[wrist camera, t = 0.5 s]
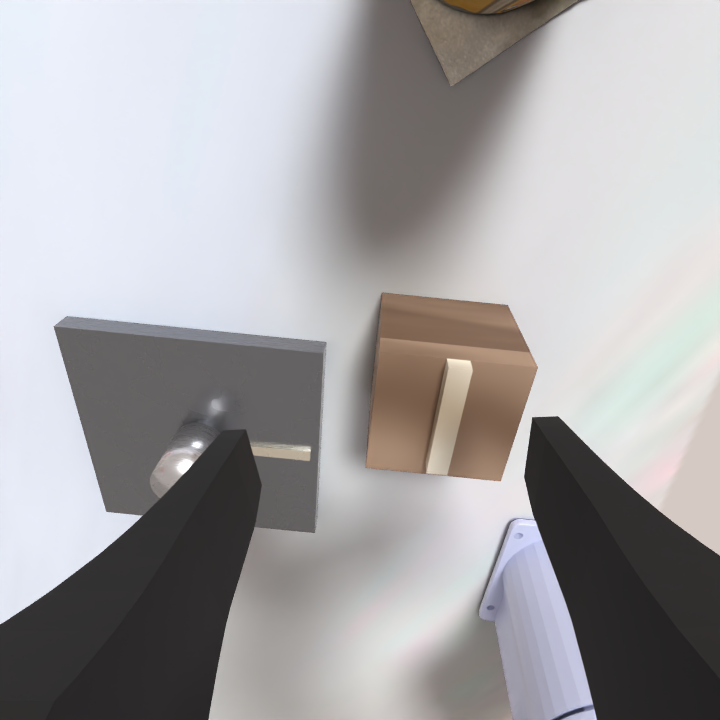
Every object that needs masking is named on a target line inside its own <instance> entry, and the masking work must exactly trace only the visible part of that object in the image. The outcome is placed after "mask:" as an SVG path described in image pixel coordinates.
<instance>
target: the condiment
mask: <svg viewBox="0 0 720 720" xmlns="http://www.w3.org/2000/svg"><path fill="white" fill-rule="evenodd" d="M410 1H411V3H412V5H413V8H414V10H415V12H416V14H417V16H418V18H419V20H420V22H421V24H422V26H423V28H424V31H425V33H426V35H427V37H428V39H429V40H430V43H431V45H432V47H433V49H434V51H435V54H436V56H437V58H438V60H439V62H440V64H441V66H442V68H443V71H444V73H445V75H446V77H447V79H448V81H449V83H450V85H451V87H452V86H453V85H455V84H456V83H458V82H459V81H461V80H462V79H464V78H465V77H467V76H468V75H469V74H471V73H472V72H474V71H475V70H477V69H478V68H480V67H481V66H483V65H484V64H486V63H487V62H488V61H490V60H491V59H493V58H494V57H496V56H497V55H499V54H500V53H501V52H503V51H504V50H506V49H507V48H509V47H510V46H512V45H513V44H515V43H516V42H518V41H519V40H521V39H522V38H523V37H525V36H526V35H528V34H529V33H531V32H532V31H534V30H535V29H537V28H538V27H540V26H541V25H543V24H544V23H546V22H547V21H549V20H550V19H551V18H553V17H554V16H556V15H557V14H559V13H560V12H562V11H563V10H565V9H566V8H568V7H569V6H571V5H572V4H574V3H576V2H577V1H578V0H410Z"/></svg>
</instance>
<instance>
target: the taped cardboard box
mask: <svg viewBox="0 0 720 720" xmlns="http://www.w3.org/2000/svg"><path fill="white" fill-rule="evenodd" d="M537 368H538V367H537V365H536V363H535V361H534V359H533V357H532V354H531V352H530V350H529V348H528V346H527V344H526V342H525V340H524V338H523V336H522V334H521V332H520V330H519V328H518V326H517V323H516V321H515V319H514V317H513V315H512V313H511V311H510V309H509V307H508V305H500V304H490V303H480V302H470V301H459V300H449V299H439V298H429V297H419V296H409V295H399V294H389V293H382V300H381V308H380V317H379V326H378V334H377V343H376V352H375V361H374V369H373V378H372V387H371V396H370V411H369V426H368V442H367V457H366V468H374V469H384V470H394V471H404V472H413V473H423V474H433V475H443V476H453V477H463V478H473V479H483V480H493V481H501V478H502V475H503V472H504V469H505V466H506V463H507V460H508V457H509V454H510V451H511V448H512V445H513V442H514V439H515V436H516V433H517V430H518V426H519V423H520V420H521V417H522V414H523V411H524V408H525V405H526V402H527V399H528V396H529V393H530V390H531V387H532V384H533V381H534V378H535V374H536V371H537Z"/></svg>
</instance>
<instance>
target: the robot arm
mask: <svg viewBox="0 0 720 720" xmlns="http://www.w3.org/2000/svg"><path fill="white" fill-rule="evenodd" d="M524 478H525V482H526V487H527V491H528V495H529V500H530V504H531V508H532V512H533V516H534V518H535V520H525V519H517V520H514V521H513V522H511V524H510V526H509V529H508V532H507V535H506V537H505V540H504V543H503V546H502V548H501V551H500V554H499V557H498V559H497V562H496V565H495V567H494V570H493V573H492V576H491V578H490V581H489V584H488V587H487V589H486V592H485V595H484V598H483V600H482V603H481V606H480V609H479V617H480V618H481V619H483V620H487V621H495V627H496V632H497V637H498V643H499V648H500V654H501V659H502V665H503V670H504V675H505V681H506V686H507V692H508V697H509V703H510V708H511V713H512V717H513V720H720V556H719V555H718V554H717V553H715V552H714V551H712V550H711V549H709V548H708V547H706V546H705V545H704V544H702V543H701V542H699V541H698V540H697V539H695V538H694V537H693V536H691V535H690V534H688V533H687V532H686V531H684V530H683V529H682V528H680V527H679V526H678V525H676V524H675V523H674V522H672V521H671V520H670V519H669V518H667V517H666V516H665V515H663V514H662V513H661V512H660V511H658V510H657V509H656V508H655V507H654V506H652V505H651V504H650V503H649V502H648V501H646V500H645V499H644V498H643V497H642V496H641V495H639V494H638V493H637V492H636V491H635V490H634V489H633V488H631V487H630V486H629V485H628V484H627V483H626V482H625V481H624V480H623V479H622V478H620V477H619V476H618V475H617V474H616V473H615V472H614V471H613V470H612V469H611V468H610V467H609V466H608V465H606V464H605V463H604V462H603V461H602V460H601V459H600V458H599V457H598V456H597V455H596V454H595V453H594V452H593V451H592V450H591V449H590V448H589V447H588V446H587V445H586V444H585V443H584V442H583V441H582V440H581V439H580V438H579V437H578V436H577V435H576V434H575V433H574V432H573V431H572V430H571V429H570V428H569V427H568V426H567V425H566V424H565V423H564V422H563V421H562V420H561V419H560V418H559V417H558V416H556V417H532V424H531V431H530V439H529V446H528V453H527V460H526V468H525V475H524ZM261 487H262V484H261V480H260V477H259V473H258V469H257V466H256V462H255V459H254V455H253V452H252V448H251V445H250V441H249V438H248V434H247V431H246V429H239V430H223V431H222V432H221V433H220V434H219V435H218V436H217V437H216V439H215V440H214V441H213V442H212V443H211V444H210V445H209V446H208V447H207V449H206V450H205V451H204V452H203V453H202V454H201V455H200V456H199V457H198V459H197V460H196V461H195V462H194V463H193V464H192V465H191V466H190V468H189V469H188V470H187V471H186V472H185V473H184V474H183V475H182V476H181V477H180V478H179V479H178V480H177V482H176V483H175V484H174V485H173V486H172V487H171V488H170V489H169V490H168V491H167V492H166V493H165V494H164V495H163V496H162V497H161V498H160V499H159V500H158V501H157V502H156V503H155V504H154V505H153V506H152V507H151V508H150V509H149V510H148V511H147V512H146V513H145V514H144V515H143V516H142V517H141V518H140V519H139V520H138V521H137V522H136V523H135V524H134V525H133V526H131V527H130V528H129V529H128V530H127V531H126V532H125V533H124V534H123V535H121V536H120V537H119V538H118V539H117V540H116V541H114V542H113V543H112V544H111V545H110V546H108V547H107V548H106V549H105V550H104V551H103V552H101V553H100V554H99V555H98V556H96V557H95V558H94V559H93V560H91V561H90V562H89V563H87V564H86V565H85V566H83V567H82V568H81V569H79V570H78V571H77V572H75V573H74V574H73V575H71V576H70V577H69V578H67V579H66V580H65V581H64V582H62V583H61V584H60V585H58V586H57V587H56V588H54V589H53V590H51V591H50V592H49V593H47V594H46V595H44V596H43V597H41V598H40V599H38V600H37V601H35V602H34V603H33V604H31V605H30V606H28V607H27V608H25V609H24V610H22V611H20V612H19V613H17V614H16V615H14V616H13V617H11V618H10V619H8V620H7V621H5V622H4V623H2V624H0V720H208V719H209V712H210V706H211V701H212V695H213V689H214V684H215V678H216V673H217V667H218V662H219V657H220V652H221V647H222V642H223V637H224V632H225V627H226V622H227V618H228V615H229V611H230V607H231V603H232V600H233V597H234V593H235V590H236V587H237V583H238V580H239V577H240V573H241V570H242V567H243V563H244V560H245V557H246V554H247V550H248V547H249V543H250V540H251V537H252V533H253V530H254V526H255V523H256V518H257V512H258V507H259V500H260V494H261Z"/></svg>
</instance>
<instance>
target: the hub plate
mask: <svg viewBox="0 0 720 720" xmlns="http://www.w3.org/2000/svg"><path fill="white" fill-rule="evenodd" d="M54 329H55V332H56V336H57V339H58V343H59V346H60V350H61V353H62V357H63V361H64V364H65V368H66V371H67V375H68V378H69V382H70V385H71V389H72V392H73V396H74V399H75V403H76V406H77V410H78V413H79V417H80V420H81V424H82V427H83V431H84V434H85V438H86V441H87V445H88V448H89V452H90V455H91V459H92V463H93V466H94V470H95V473H96V477H97V480H98V484H99V487H100V491H101V494H102V498H103V501H104V505H105V508H106V512H114V513H124V514H134V515H144V514H145V513H146V512H147V511H148V510H149V509H150V508H151V507H152V506H153V505H154V504H155V503H156V502H157V501H158V500H159V499H160V498H161V497H162V496H163V495H164V494H165V493H166V492H167V491H168V490H169V489H170V488H171V487H172V486H173V485H174V484H175V483H176V482H177V480H178V479H179V478H180V477H181V476H182V475H183V474H184V473H185V472H186V471H187V470H188V469H189V468H190V466H191V465H192V464H193V463H194V462H195V461H196V460H197V459H198V457H199V456H200V455H201V454H202V453H203V452H204V451H205V450H206V449H207V447H208V446H209V445H210V444H211V443H212V442H213V441H214V440H215V439H216V437H217V436H218V435H219V434H220V433H221V432H222V431H223V430H239V429H246V431H247V434H248V438H249V441H250V445H251V448H252V452H253V455H254V459H255V462H256V466H257V469H258V473H259V477H260V480H261V484H262V487H261V494H260V500H259V507H258V512H257V518H256V523H255V526H254V527H261V528H271V529H281V530H291V531H300V532H310V533H315V528H316V522H317V511H318V491H319V472H320V452H321V433H322V413H323V394H324V374H325V355H326V342H319V341H309V340H299V339H289V338H279V337H269V336H259V335H249V334H238V333H228V332H218V331H208V330H198V329H188V328H178V327H168V326H158V325H148V324H138V323H128V322H118V321H108V320H98V319H88V318H78V317H68V316H67V317H65V318H64V319H63V320H62V321H60V322H59V323H58V324H56V325H55V326H54Z"/></svg>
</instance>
